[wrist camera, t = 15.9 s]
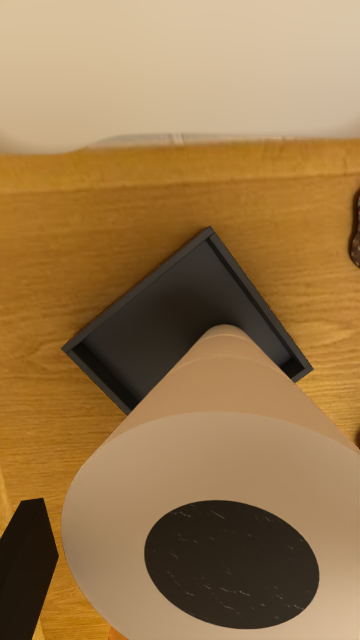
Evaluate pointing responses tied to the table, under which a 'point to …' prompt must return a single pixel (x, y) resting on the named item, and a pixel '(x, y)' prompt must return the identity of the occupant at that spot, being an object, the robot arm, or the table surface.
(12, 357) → the table surface
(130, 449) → the cup
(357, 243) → the bread roll
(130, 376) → the tray
